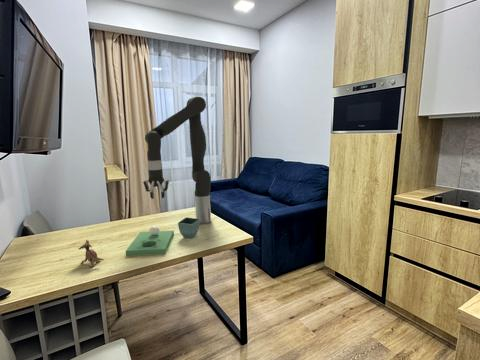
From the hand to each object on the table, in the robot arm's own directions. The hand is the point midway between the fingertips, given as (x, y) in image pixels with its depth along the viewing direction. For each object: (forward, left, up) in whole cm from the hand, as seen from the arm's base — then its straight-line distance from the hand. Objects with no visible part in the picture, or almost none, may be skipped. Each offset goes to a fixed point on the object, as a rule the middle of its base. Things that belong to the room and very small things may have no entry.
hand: (157, 198), depth 142 cm
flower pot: (-18, +10, -20) cm, 28 cm away
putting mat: (0, +18, -19) cm, 26 cm away
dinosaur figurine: (+22, +34, -20) cm, 45 cm away
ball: (0, +12, -14) cm, 19 cm away
